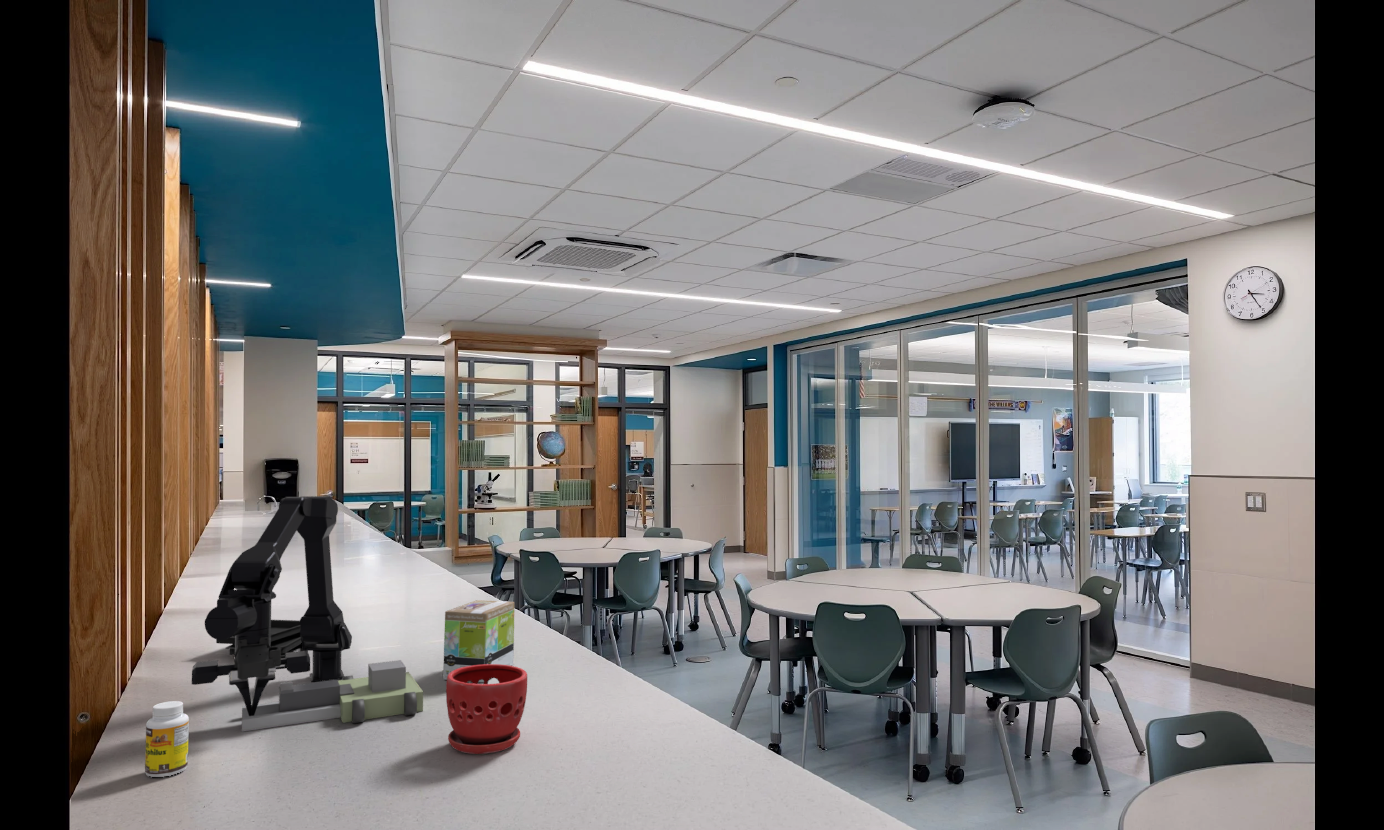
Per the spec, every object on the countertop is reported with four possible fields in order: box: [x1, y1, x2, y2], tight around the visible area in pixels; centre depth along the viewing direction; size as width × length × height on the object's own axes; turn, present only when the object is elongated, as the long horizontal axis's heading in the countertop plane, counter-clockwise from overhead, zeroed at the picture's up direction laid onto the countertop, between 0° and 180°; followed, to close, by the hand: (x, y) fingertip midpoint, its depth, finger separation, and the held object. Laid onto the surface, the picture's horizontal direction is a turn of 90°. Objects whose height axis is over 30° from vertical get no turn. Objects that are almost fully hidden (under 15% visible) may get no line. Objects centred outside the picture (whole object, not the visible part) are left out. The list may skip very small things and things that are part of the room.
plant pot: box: [445, 664, 528, 755], centre depth 139 cm, size 13×13×12 cm
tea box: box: [442, 599, 515, 683], centre depth 184 cm, size 15×10×15 cm
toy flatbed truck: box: [241, 659, 424, 732], centre depth 158 cm, size 22×30×8 cm
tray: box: [215, 619, 309, 658], centre depth 205 cm, size 30×23×5 cm
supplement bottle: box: [144, 700, 190, 778], centre depth 128 cm, size 6×6×10 cm
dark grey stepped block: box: [278, 679, 340, 712], centre depth 156 cm, size 6×10×6 cm, turn 118°
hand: (251, 715), depth 151 cm, fingers closed
